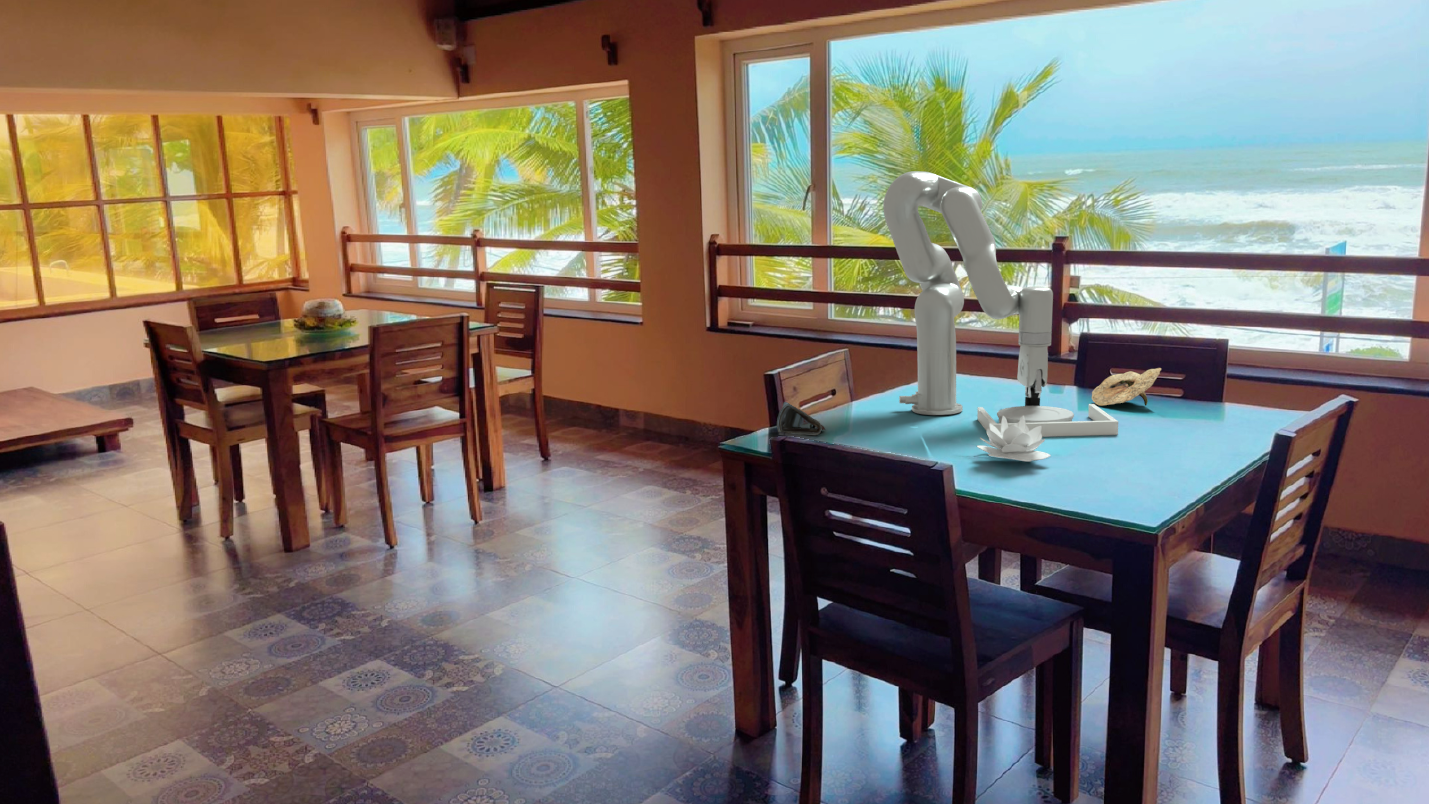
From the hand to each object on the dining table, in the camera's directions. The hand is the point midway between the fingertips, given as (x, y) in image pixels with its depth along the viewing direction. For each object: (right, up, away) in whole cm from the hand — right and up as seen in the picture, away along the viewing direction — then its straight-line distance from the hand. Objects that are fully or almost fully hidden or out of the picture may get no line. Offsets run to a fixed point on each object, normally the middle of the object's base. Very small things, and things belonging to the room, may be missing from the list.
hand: (1032, 413), depth 258 cm
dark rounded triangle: (-53, -7, -9) cm, 54 cm away
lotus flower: (-15, -9, -37) cm, 41 cm away
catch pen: (-1, -3, -11) cm, 12 cm away
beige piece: (+28, +1, +8) cm, 29 cm away
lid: (-2, -3, -11) cm, 12 cm away
